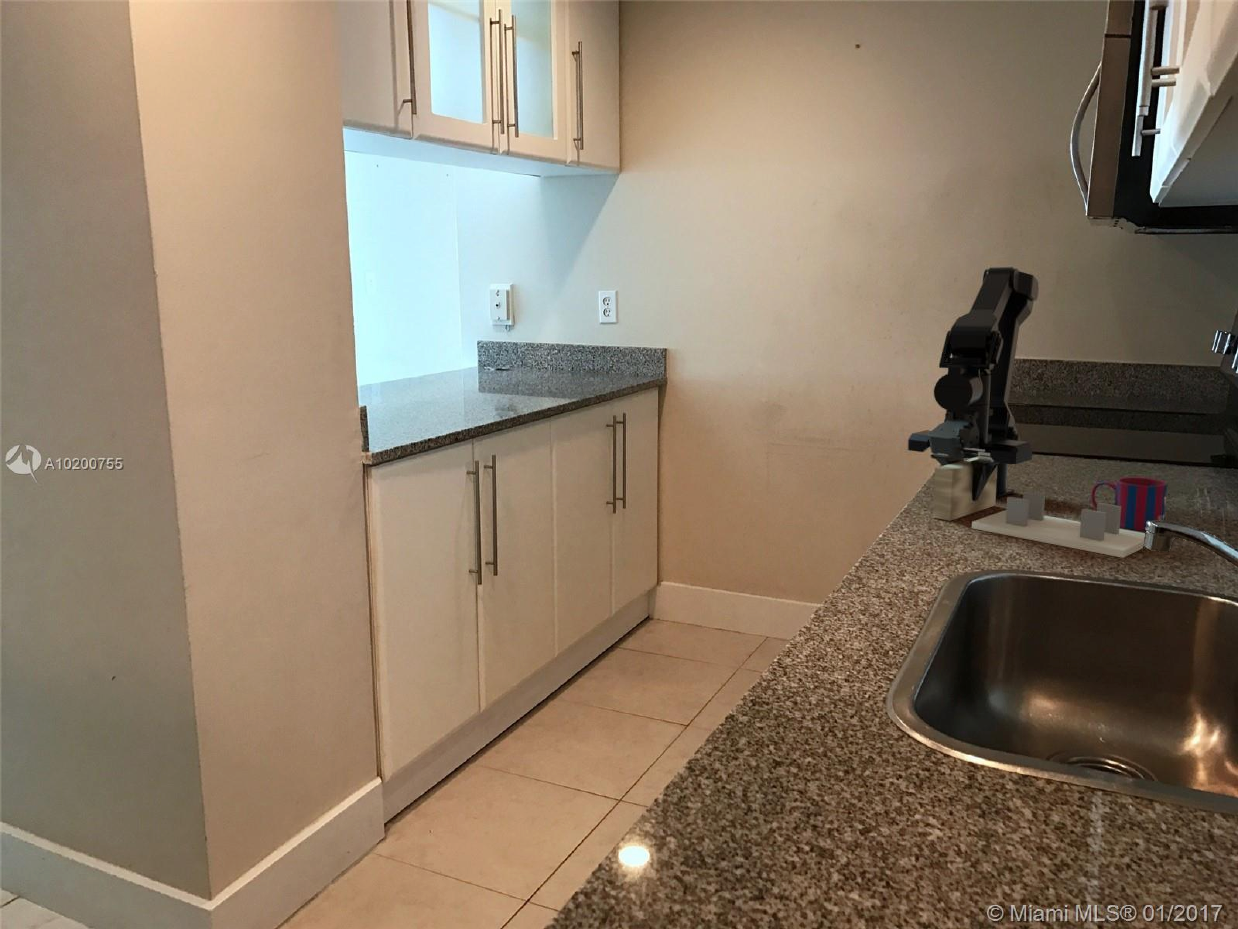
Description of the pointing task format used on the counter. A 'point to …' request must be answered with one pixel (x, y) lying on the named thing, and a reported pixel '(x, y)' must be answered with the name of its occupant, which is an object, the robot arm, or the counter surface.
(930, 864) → the counter surface
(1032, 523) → the white slotted rack
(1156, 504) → the mug
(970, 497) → the wooden block
